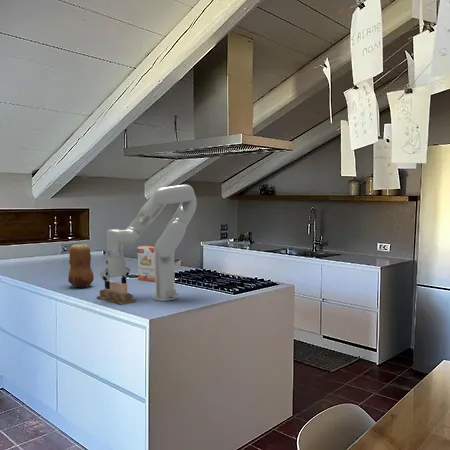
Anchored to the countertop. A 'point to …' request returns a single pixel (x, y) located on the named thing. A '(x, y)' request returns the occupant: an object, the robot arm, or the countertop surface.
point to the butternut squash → (80, 266)
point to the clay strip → (117, 288)
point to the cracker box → (146, 263)
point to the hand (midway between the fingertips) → (115, 287)
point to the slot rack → (116, 297)
